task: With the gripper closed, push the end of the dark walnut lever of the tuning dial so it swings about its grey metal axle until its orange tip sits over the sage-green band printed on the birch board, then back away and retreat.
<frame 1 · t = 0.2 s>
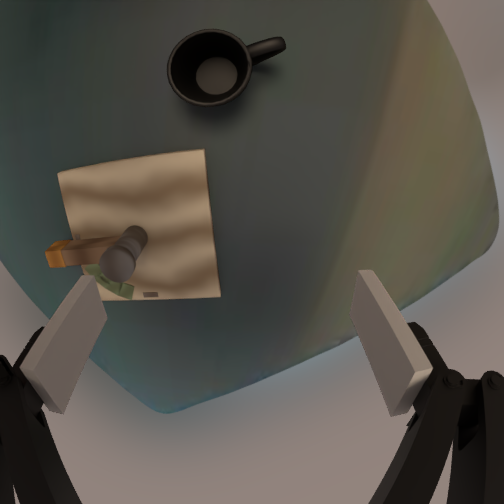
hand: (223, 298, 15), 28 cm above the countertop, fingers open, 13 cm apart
mug: (231, 70, 33), on the countertop
peg lever: (91, 253, 38), point 6 cm above the countertop, hinge at 0.0°
dial board: (138, 232, 43), on the countertop
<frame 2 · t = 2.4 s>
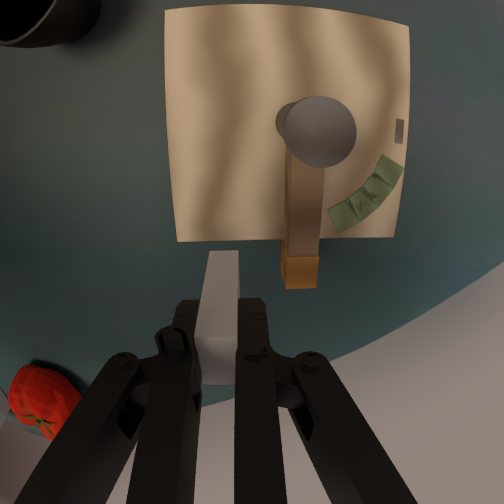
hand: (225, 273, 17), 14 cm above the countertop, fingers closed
mug: (74, 3, 18), on the countertop
peg lever: (304, 197, 23), point 6 cm above the countertop, hinge at 0.0°
tomato: (56, 379, 42), on the countertop
dial board: (293, 121, 25), on the countertop
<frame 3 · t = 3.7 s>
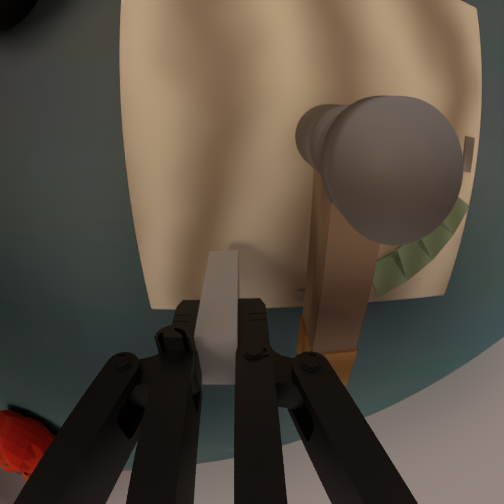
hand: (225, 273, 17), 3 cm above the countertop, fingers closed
peg lever: (343, 267, 14), point 6 cm above the countertop, hinge at 0.0°
tomato: (36, 424, 33), on the countertop
dial board: (321, 134, 16), on the countertop
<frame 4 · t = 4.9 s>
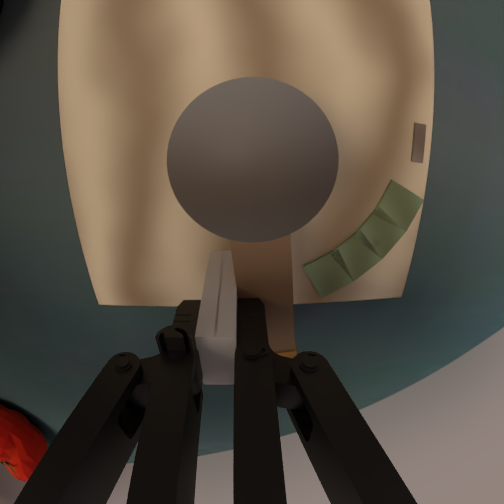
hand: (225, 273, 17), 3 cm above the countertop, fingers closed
peg lever: (262, 265, 14), point 6 cm above the countertop, hinge at 5.2°, touching gripper
tomato: (19, 416, 33), on the countertop
dial board: (247, 130, 16), on the countertop
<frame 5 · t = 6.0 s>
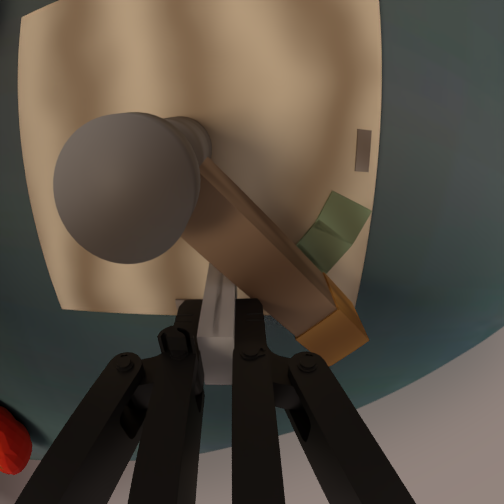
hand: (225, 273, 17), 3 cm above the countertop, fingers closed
peg lever: (249, 252, 13), point 6 cm above the countertop, hinge at 42.9°, touching gripper
tomato: (6, 413, 33), on the countertop
dial board: (183, 145, 17), on the countertop
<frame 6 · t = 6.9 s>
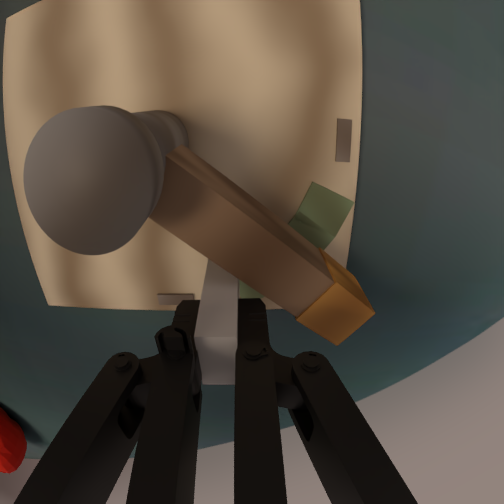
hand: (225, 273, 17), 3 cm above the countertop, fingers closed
peg lever: (233, 232, 13), point 6 cm above the countertop, hinge at 50.2°
tomato: (0, 411, 33), on the countertop
dial board: (162, 139, 16), on the countertop
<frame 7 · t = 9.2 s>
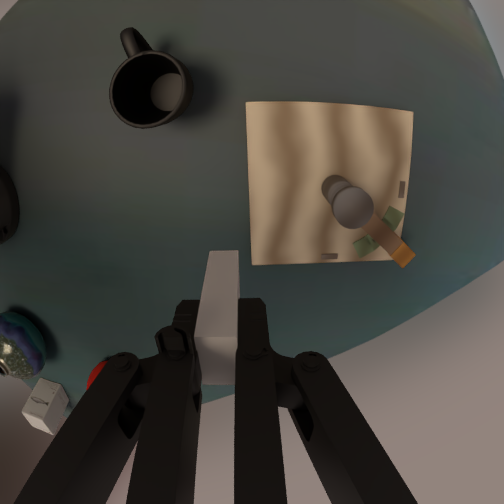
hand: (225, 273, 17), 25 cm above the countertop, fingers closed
mug: (165, 79, 33), on the countertop
supplement box: (55, 388, 62), on the countertop
peg lever: (372, 224, 36), point 6 cm above the countertop, hinge at 50.2°
dial board: (331, 185, 39), on the countertop
vase: (28, 328, 53), on the countertop
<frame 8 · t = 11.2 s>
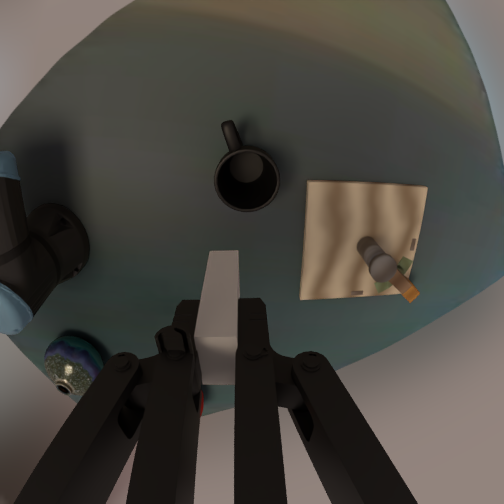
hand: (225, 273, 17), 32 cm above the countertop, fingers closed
mug: (242, 154, 45), on the countertop
peg lever: (392, 274, 49), point 6 cm above the countertop, hinge at 50.2°
dial board: (363, 242, 52), on the countertop
vase: (82, 348, 64), on the countertop
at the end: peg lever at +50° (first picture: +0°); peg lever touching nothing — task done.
